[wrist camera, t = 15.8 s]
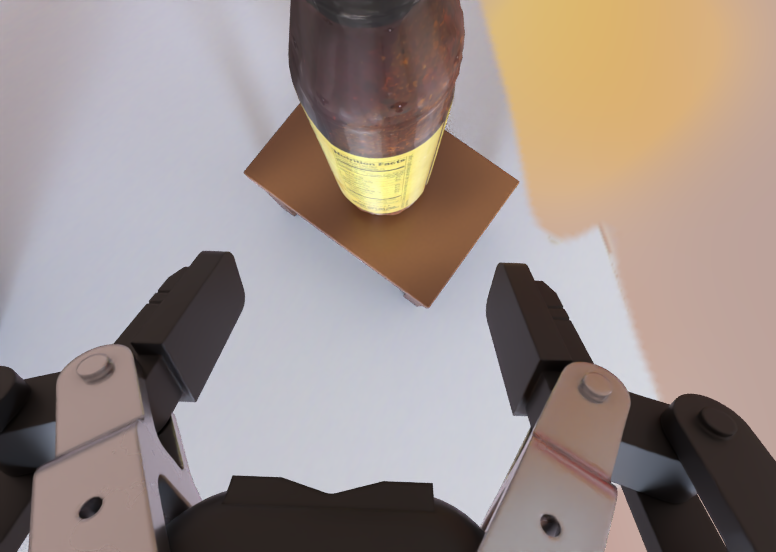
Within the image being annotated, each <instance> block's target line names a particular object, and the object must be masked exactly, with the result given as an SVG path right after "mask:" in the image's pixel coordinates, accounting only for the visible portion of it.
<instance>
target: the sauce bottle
mask: <svg viewBox="0 0 776 552" xmlns="http://www.w3.org/2000/svg"><path fill="white" fill-rule="evenodd" d="M464 36H465V30H464V18H463V11H462V9H461V6H460V0H291V6H290V29H289V52H288V55H289V68H290V73H291V78H292V82H293V85H294V88H295V91H296V93H297V95H298V98H299V100H300V103H301V105H302V107H303V109H304V111H305V113H306V116H307V118H308V120H309V122H310V124H311V126H312V128H313V130H314V133H315V135H316V137H317V139H318V141H319V143H320V145H321V147H322V150H323V152H324V154H325V157H326V159H327V161H328V164H329V166H330V168H331V170H332V172H333V174H334V176H335V179H336V181H337V183H338V185H339V187H340V189H341V191H342V192H343V194H344V195H345V197H346V198H348V199H349V200H350V201H351V202H352V203H353V204H354V205H355V206H357V207H358V208H359V209H360V210H362V211H364V212H368V213H371V214H376V215H395V214H399V213H401V212H402V211H403V210H405V209H407V208H408V207H410V206H411V205H412V204H413V203H414V202H415V201H416V200H417V199H418V198H419V196H420V195H421V194H422V193H423V191H424V188H425V185H427V183H428V180H429V178H430V175H431V172H432V168H433V165H434V162H435V158H436V155H437V152H438V149H439V145H440V142H441V138H442V135H443V131H444V128H445V125H446V122H447V119H448V115H449V112H450V108H451V105H452V101H453V97H454V91H455V81H456V79H457V77H458V75H459V70H460V64H461V61H462V58H463V57H462V52H463V46H464Z"/></svg>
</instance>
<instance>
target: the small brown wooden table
mask: <svg viewBox="0 0 776 552" xmlns="http://www.w3.org/2000/svg"><path fill="white" fill-rule="evenodd" d="M244 174H245V175H246V176H247V177H248V178H249V179H250V180H252V181H253V182H254V183H256V184H257V185H259V186H260V187H261V188H263V189H264V190H265V191H266V192H267V193H268V194H269V195H270V196H271V197H272V198H273V199H274V200H275V201H276V202H277V203H278V204H279V205H280V206H281V207H282V208H284V209H285V210H286V211H288V212H289V213H290V214H292V215H293V216H296V214H298V215H299V216H301V217H302V218H303V219H305V220H306V221H308V222H309V223H310V224H312V225H313V226H314V227H316V228H317V229H318V230H320V231H321V232H323V233H324V234H325V235H327V236H328V237H329V238H331V239H332V240H333V241H335V242H336V243H338V244H339V245H340V246H342V247H343V248H344V249H346V250H347V251H348V252H350V253H351V254H353V255H354V256H355V257H357V258H358V259H359V260H361V261H362V262H363V263H365V264H366V265H368V266H369V267H370V268H372V269H373V270H374V271H376V272H377V273H378V274H380V275H381V276H383V277H384V278H385V279H387V280H388V281H389V282H391V283H392V284H393V285H395V286H396V287H398V288H399V289H400V290H402V291H403V292H404V293H405V294H404V297H405V298H406V299H407V300H409V301H410V302H412V303H413V304H414V305H416V306H417V307H418V306H423V307H425V308H429V307H430V306H431V305H432V303H433V302H434V300H435V299H436V298H437V296H438V295H439V293H440V292H441V291H442V289H443V288H444V286H445V285H446V284H447V282H448V281H449V280H450V278H451V277H452V275H453V274H454V273H455V271H456V270H457V268H458V267H459V266H460V264H461V263H462V261H463V260H464V259H465V257H466V256H467V255H468V253H469V252H470V250H471V249H472V248H473V246H474V245H475V243H476V242H477V241H478V239H479V238H480V236H481V235H482V234H483V232H484V231H485V230H486V228H487V227H488V225H489V224H490V223H491V221H492V220H493V218H494V217H495V216H496V214H497V213H498V212H499V210H500V209H501V207H502V206H503V205H504V203H505V202H506V200H507V199H508V198H509V196H510V195H511V193H512V192H513V191H514V189H515V188H516V187H517V185H518V184H519V181H518V180H517V179H515V178H514V177H512V176H511V175H509V174H508V173H506V172H505V171H503V170H502V169H501V168H499V167H498V166H496V165H495V164H493V163H492V162H490V161H489V160H488V159H486V158H485V157H483V156H482V155H480V154H479V153H477V152H476V151H475V150H473V149H472V148H470V147H469V146H467V145H466V144H464V143H463V142H462V141H460V140H459V139H457V138H456V137H454V136H453V135H451V134H450V133H449V132H447V131H446V130H444V131H443V135H442V138H441V142H440V145H439V149H438V152H437V155H436V158H435V162H434V165H433V168H432V172H431V175H430V178H429V180H428V183H427V185H425V188H424V191H423V193H422V194H421V195H420V196H419V198H418V199H417V200H416V201H415V202H414V203H413V204H412V205H411V206H410V207H408V208H407V209H405V210H403V211H402V212H401V213H399V214H395V215H376V214H371V213H368V212H364V211H362V210H360V209H359V208H358V207H357V206H355V205H354V204H353V203H352V202H351V201H350V200H349V199H348V198H346V197H345V195H344V194H343V192H342V191H341V189H340V187H339V185H338V183H337V181H336V179H335V176H334V174H333V172H332V170H331V168H330V166H329V164H328V161H327V159H326V157H325V154H324V152H323V150H322V147H321V145H320V143H319V141H318V139H317V137H316V135H315V133H314V130H313V128H312V126H311V124H310V122H309V120H308V118H307V116H306V113H305V111H304V109H303V107H302V105H301V103H300V104H299V105H298V106H297V107H296V108H295V110H294V111H293V112H292V113H291V115H290V116H289V117H288V118H287V120H286V121H285V122H284V123H283V124H282V126H281V127H280V128H279V129H278V131H277V132H276V133H275V134H274V135H273V137H272V138H271V139H270V140H269V142H268V143H267V144H266V145H265V147H264V148H263V149H262V150H261V151H260V153H259V154H258V155H257V156H256V158H255V159H254V160H253V161H252V162H251V164H250V165H249V166H248V167H247V169H246V170H245V171H244Z"/></svg>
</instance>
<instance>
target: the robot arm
mask: <svg viewBox="0 0 776 552" xmlns="http://www.w3.org/2000/svg"><path fill="white" fill-rule="evenodd" d="M244 302H245V293H244V288H243V285H242V282H241V278H240V275H239V272H238V269H237V265H236V262H235V259H234V256H233V255H232V253H230V252H221V251H202V252H201V253H200V254H199V255H198V256H197V257H196V259H195V260H194V261H193V263H192V264H191V265H190V266H189V267H184V268H182V269H181V270H179V271H178V272H176V273H175V274H173V275H172V276H170V277H169V278H168V279H167V280H166V281H165V282H164V283H163V285H162V286H161V287H160V288H159V290H158V293H155V294H154V296H153V297H152V298H151V299H150V300H149V304H146V305H145V306H144V308H143V309H142V310H141V311H140V312H139V314H138V315H137V316H136V317H135V319H134V320H133V321H132V322H131V323H130V325H129V326H128V327H127V328H126V329H125V331H124V332H123V333H122V334H121V335H120V337H119V338H118V339H117V340H116V341H115V343H114V344H110V345H104V346H100V347H97V348H94V349H91V350H89V351H87V352H85V353H83V354H81V355H80V356H78V357H76V358H75V359H74V360H72V361H71V362H70V363H69V364H68V365H67V366H66V367H65V368H64V369H63V370H62V371H61V372H57V373H52V374H48V375H43V376H38V377H33V378H29V379H24V380H23V379H22V378H21V377H20V376H19V375H18V374H17V373H16V372H15V371H14V370H13V369H11V368H9V367H5V366H0V552H17V551H18V549H19V548H20V546H21V544H22V543H23V541H24V540H25V538H26V537H27V535H28V533H29V532H30V533H29V550H28V552H604V551H605V547H606V543H607V539H608V535H609V531H610V527H611V522H612V518H613V514H614V510H615V505H616V501H617V488H616V486H615V485H613V484H612V483H611V482H614V483H617V484H619V485H621V487H622V490H623V492H624V495H625V497H626V500H627V502H628V505H629V507H630V510H631V512H632V515H633V517H634V520H635V522H636V525H637V527H638V530H639V532H640V535H641V537H642V540H643V542H644V545H645V547H646V550H647V552H776V461H775V460H774V459H773V457H772V456H771V455H770V453H769V452H768V451H767V449H766V448H765V447H764V445H763V444H762V443H761V441H760V440H759V439H758V438H757V436H756V435H755V434H754V432H753V431H752V430H751V428H750V427H749V426H748V425H747V423H746V422H745V421H744V420H743V419H742V418H741V417H740V416H738V415H737V414H736V413H735V412H734V411H732V410H731V409H729V408H728V407H726V406H725V405H723V404H721V403H720V402H718V401H715V400H713V399H711V398H708V397H705V396H702V395H697V394H684V395H681V396H679V397H678V398H676V400H674V401H673V403H672V404H671V405H670V404H666V403H663V402H660V401H656V400H653V399H650V398H646V397H643V396H640V395H637V394H634V393H631V392H628V391H627V389H626V387H625V386H624V384H623V383H622V382H621V381H620V380H619V379H618V378H617V377H616V376H615V375H614V374H612V373H611V372H609V371H608V370H606V369H604V368H603V367H600V366H598V365H595V364H594V363H593V361H592V359H591V358H590V356H589V354H588V352H587V350H586V348H585V346H584V344H583V343H582V341H581V339H580V337H579V335H578V333H577V331H576V329H575V328H574V326H573V324H572V322H571V321H569V316H568V314H567V313H566V311H565V309H563V305H562V303H561V301H560V300H559V298H558V296H557V294H556V293H555V292H554V291H553V290H552V289H551V288H550V287H549V286H548V285H547V284H545V283H544V282H543V281H535V280H534V278H533V276H532V274H531V272H530V270H529V268H528V266H527V265H526V264H523V263H499V264H498V265H497V267H496V270H495V274H494V278H493V281H492V285H491V288H490V292H489V295H488V299H487V304H486V317H487V322H488V325H489V329H490V333H491V336H492V340H493V344H494V347H495V351H496V355H497V358H498V362H499V366H500V369H501V373H502V377H503V380H504V384H505V387H506V391H507V395H508V398H509V402H510V406H511V409H512V413H513V415H514V416H528V418H529V422H530V425H531V427H530V429H529V431H528V433H527V435H526V437H525V439H524V441H523V443H522V445H521V447H520V449H519V451H518V453H517V455H516V457H515V459H514V461H513V463H512V465H511V467H510V469H509V471H508V473H507V475H506V477H505V479H504V481H503V483H502V485H501V487H500V489H499V491H498V493H497V495H496V497H495V499H494V501H493V503H492V505H491V506H490V508H489V510H488V512H487V514H486V516H485V518H484V520H483V522H482V524H481V526H480V527H479V526H478V525H477V524H476V523H475V522H474V521H473V520H471V519H470V518H469V517H468V516H467V515H466V514H464V513H463V512H461V511H460V510H458V509H457V508H455V507H454V506H452V505H450V504H448V503H446V502H444V501H442V500H439V499H437V498H434V496H433V483H414V482H388V481H383V482H379V483H375V484H371V485H367V486H363V487H359V488H355V489H351V490H347V491H343V492H339V493H334V494H328V493H324V492H322V491H319V490H316V489H313V488H310V487H307V486H305V485H302V484H299V483H296V482H293V481H291V480H288V479H285V478H282V477H258V476H232V479H231V482H230V485H229V487H228V490H227V491H225V492H222V493H219V494H216V495H214V496H211V497H209V498H207V499H205V500H203V501H202V499H201V497H200V494H199V492H198V490H197V488H196V486H195V484H194V482H193V479H192V476H191V473H190V470H189V466H188V462H187V458H186V454H185V451H184V447H183V443H182V439H181V435H180V431H179V428H178V424H177V420H176V417H175V414H174V413H173V411H174V409H175V407H176V405H177V403H178V402H179V401H182V402H196V401H197V399H198V397H199V395H200V393H201V391H202V389H203V387H204V385H205V383H206V382H207V380H208V378H209V376H210V374H211V372H212V370H213V368H214V366H215V364H216V362H217V360H218V358H219V356H220V354H221V352H222V350H223V348H224V346H225V344H226V342H227V340H228V338H229V336H230V334H231V332H232V330H233V328H234V326H235V324H236V322H237V320H238V318H239V316H240V314H241V312H242V310H243V307H244ZM697 494H698V495H699V497H700V499H701V500H702V502H703V504H704V506H705V508H706V509H707V511H708V513H709V515H710V517H711V518H712V520H713V522H714V524H715V526H716V528H717V529H718V531H719V533H720V535H721V537H722V539H723V541H724V543H725V545H726V546H725V545H724V543H723V541H722V539H721V537H720V536H719V534H718V532H717V530H716V528H715V526H714V524H713V523H712V521H711V519H710V517H709V516H708V514H707V512H706V510H705V508H704V506H703V504H702V503H701V501H700V499H699V497H698V495H697Z"/></svg>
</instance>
